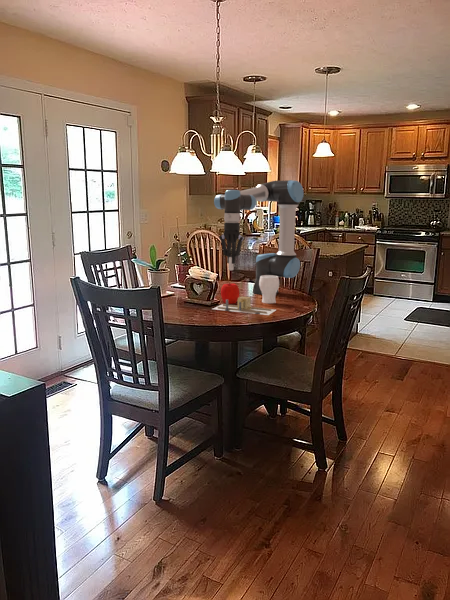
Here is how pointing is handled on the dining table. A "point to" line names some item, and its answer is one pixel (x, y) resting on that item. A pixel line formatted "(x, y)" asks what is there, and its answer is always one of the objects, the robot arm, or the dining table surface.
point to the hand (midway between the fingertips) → (231, 269)
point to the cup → (269, 288)
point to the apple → (230, 293)
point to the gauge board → (235, 309)
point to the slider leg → (244, 303)
